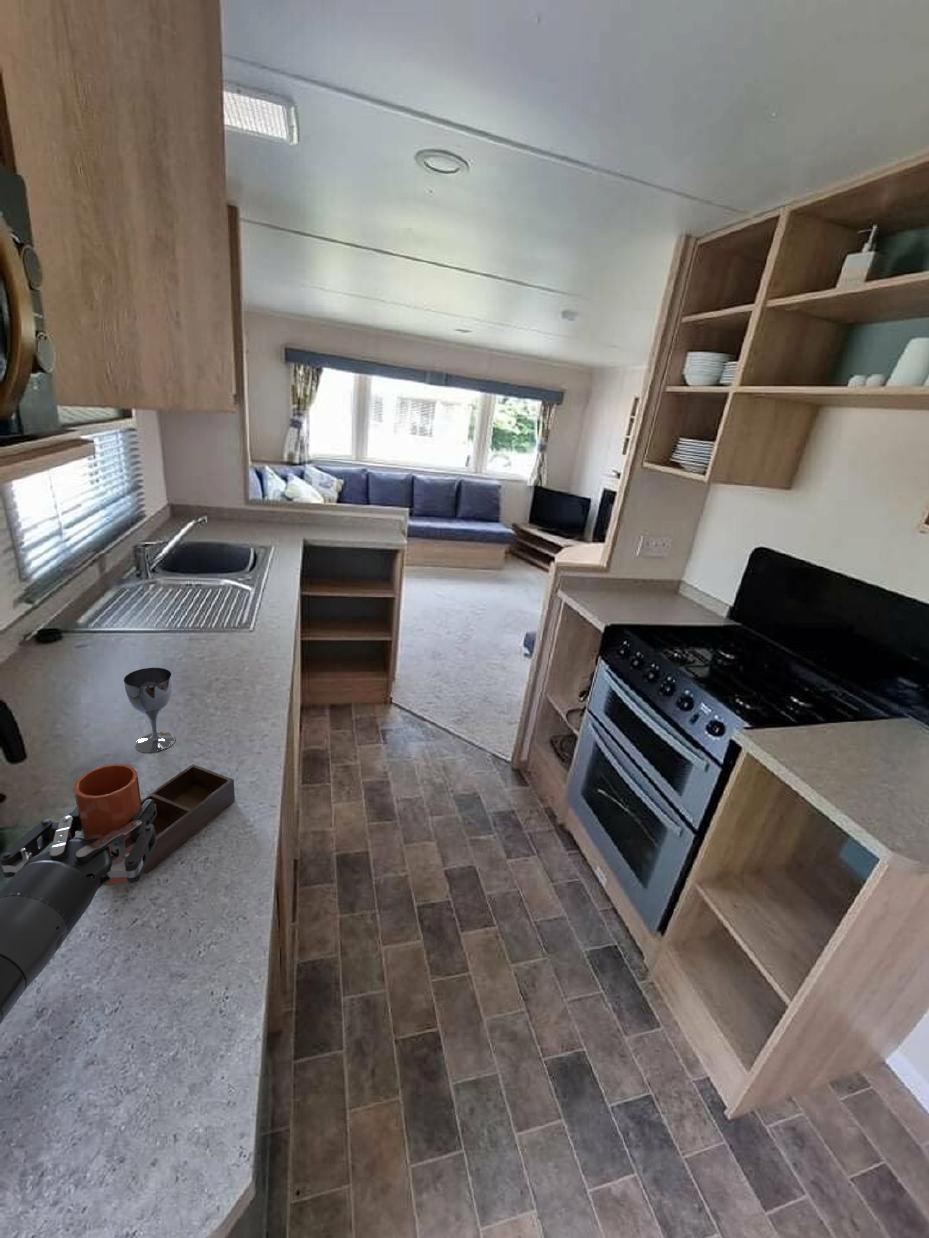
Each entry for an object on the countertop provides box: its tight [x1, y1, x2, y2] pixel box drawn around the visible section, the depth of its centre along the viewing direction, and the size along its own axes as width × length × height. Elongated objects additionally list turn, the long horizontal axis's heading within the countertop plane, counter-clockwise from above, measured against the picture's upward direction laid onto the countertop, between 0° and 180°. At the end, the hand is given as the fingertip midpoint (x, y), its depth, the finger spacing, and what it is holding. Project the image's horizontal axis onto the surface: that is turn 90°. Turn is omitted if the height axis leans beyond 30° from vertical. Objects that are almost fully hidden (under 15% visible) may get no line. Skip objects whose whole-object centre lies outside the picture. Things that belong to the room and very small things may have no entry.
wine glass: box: [123, 667, 174, 754], centre depth 102 cm, size 8×8×15 cm
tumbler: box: [73, 763, 142, 886], centre depth 62 cm, size 6×6×13 cm
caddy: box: [141, 763, 236, 874], centre depth 85 cm, size 9×18×5 cm, turn 160°
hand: (123, 803), depth 64 cm, fingers closed on tumbler, 6 cm apart
